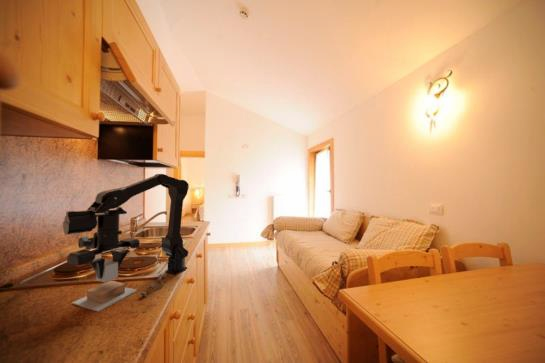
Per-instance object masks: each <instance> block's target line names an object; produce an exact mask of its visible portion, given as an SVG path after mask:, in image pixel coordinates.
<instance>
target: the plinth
mask: <svg viewBox="0 0 545 363" xmlns="http://www.w3.org/2000/svg"><path fill="white" fill-rule="evenodd" d="M125 287H126V283H124V282H119V281H116V280H109V281H107V282H103V283H101V284H99V285H97V286H95V287H92V288H89V289H87V290H86V296H87V300H90V301H93V302H97V303H100V304H103V303H105V302H107V301H109V300H111V299H113V298H115V297H117V296H119V295H121V294H123V293H125Z"/></svg>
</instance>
